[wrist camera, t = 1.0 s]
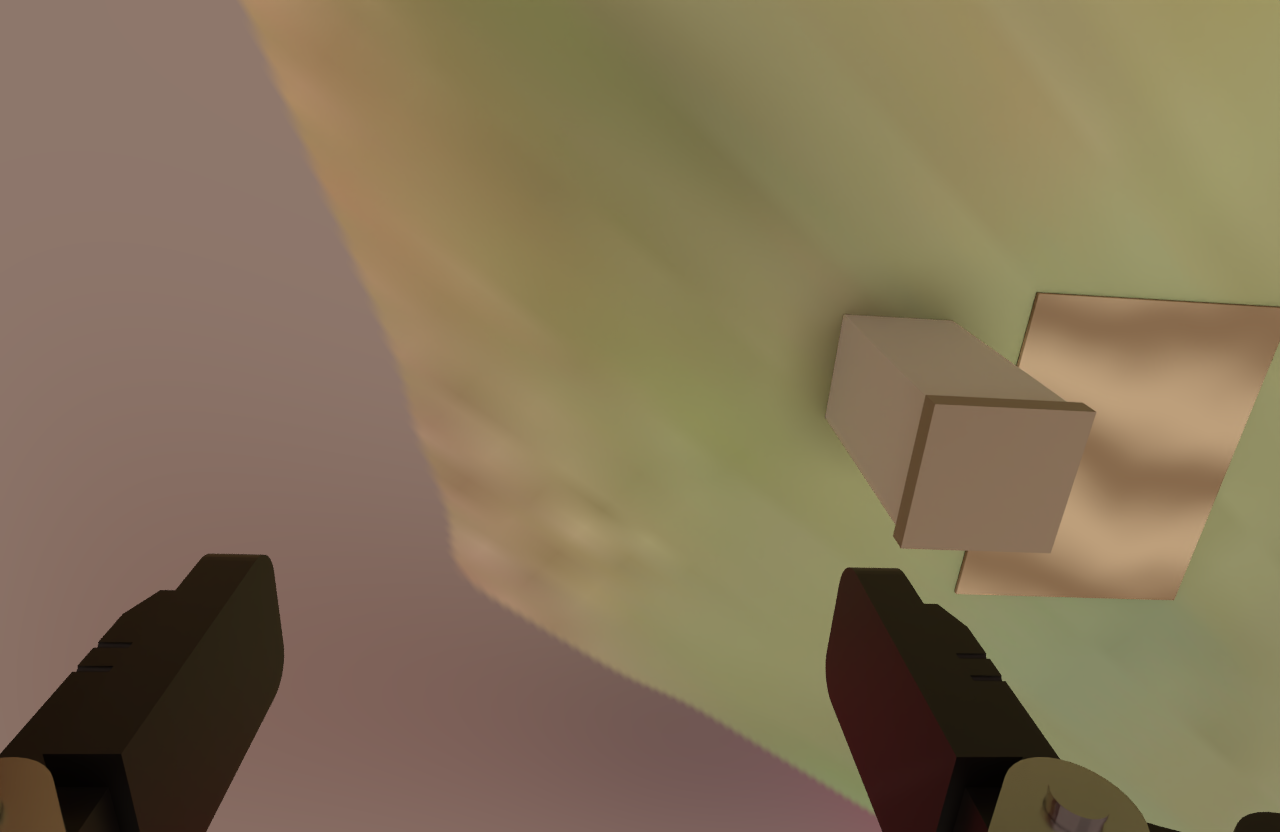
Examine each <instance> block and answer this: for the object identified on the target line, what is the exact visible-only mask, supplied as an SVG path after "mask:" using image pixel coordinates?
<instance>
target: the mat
mask: <svg viewBox="0 0 1280 832" xmlns="http://www.w3.org/2000/svg"><path fill="white" fill-rule="evenodd" d="M1279 342H1280V307H1271V306H1254V305H1238V304H1221V303H1204V302H1187V301H1171V300H1154V299H1137V298H1120V297H1104V296H1087V295H1070V294H1053V293H1037V294H1036V298H1035V301H1034V305H1033V308H1032V312H1031V316H1030V319H1029V323H1028V327H1027V330H1026V334H1025V338H1024V341H1023V345H1022V348H1021V352H1020V356H1019V359H1018V363H1017V367H1019V368H1020V369H1021V370H1023V371H1024V372H1026V373H1027V374H1029V375H1030V376H1031V377H1033V378H1034V379H1036V380H1037V381H1038V382H1040V383H1041V384H1043V385H1044V386H1045V387H1047V388H1048V389H1050V390H1051V391H1052V392H1054V393H1055V394H1057V395H1058V396H1059V397H1061V398H1062V399H1064V400H1065V401H1066V402H1082V403H1084V404H1086V405H1087V406H1089V407H1090V408H1091V409H1093V410H1094V411H1096V415H1095V418H1094V421H1093V424H1092V428H1091V431H1090V434H1089V437H1088V440H1087V443H1086V446H1085V449H1084V452H1083V455H1082V458H1081V461H1080V465H1079V468H1078V471H1077V474H1076V477H1075V480H1074V483H1073V486H1072V489H1071V492H1070V495H1069V498H1068V501H1067V505H1066V508H1065V511H1064V514H1063V517H1062V520H1061V523H1060V526H1059V529H1058V532H1057V535H1056V538H1055V542H1054V545H1053V548H1052V551H1051V553H1024V552H994V551H966V552H965V556H964V559H963V563H962V567H961V570H960V574H959V577H958V581H957V585H956V588H955V593H956V594H979V595H1013V596H1048V597H1083V598H1118V599H1152V600H1174V599H1175V596H1176V594H1177V592H1178V589H1179V587H1180V584H1181V582H1182V579H1183V577H1184V574H1185V572H1186V569H1187V567H1188V565H1189V562H1190V560H1191V557H1192V555H1193V552H1194V550H1195V547H1196V545H1197V543H1198V540H1199V538H1200V535H1201V533H1202V530H1203V528H1204V525H1205V523H1206V520H1207V518H1208V516H1209V513H1210V511H1211V508H1212V506H1213V503H1214V501H1215V498H1216V496H1217V493H1218V491H1219V489H1220V486H1221V484H1222V481H1223V479H1224V476H1225V474H1226V471H1227V469H1228V467H1229V464H1230V462H1231V459H1232V457H1233V454H1234V452H1235V449H1236V447H1237V444H1238V442H1239V440H1240V437H1241V435H1242V432H1243V430H1244V427H1245V425H1246V422H1247V420H1248V417H1249V415H1250V413H1251V410H1252V408H1253V405H1254V403H1255V400H1256V398H1257V395H1258V393H1259V391H1260V388H1261V386H1262V383H1263V381H1264V378H1265V376H1266V373H1267V371H1268V368H1269V366H1270V364H1271V361H1272V359H1273V356H1274V354H1275V351H1276V349H1277V346H1278V344H1279Z"/></svg>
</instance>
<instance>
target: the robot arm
mask: <svg viewBox="0 0 1280 832" xmlns="http://www.w3.org/2000/svg"><path fill="white" fill-rule="evenodd" d="M98 643H99V644H98V647H97V648H93V649H92V650H91V651H90V652H89V653H88V655H87V656H86V657H85V658H84V659H83V660H82V661H81V662H80V664H79V665H78V669H77V672H72V673H71V674H70V675H69V676H68V677H67V678H66V680H65V681H64V682H63V683H62V684H61V685H60V686H59V688H58V689H57V690H56V691H55V692H54V693H53V694H52V696H51V697H50V698H49V699H48V700H47V701H46V702H45V703H44V705H43V706H42V707H41V708H40V709H39V710H38V712H37V713H36V714H35V715H34V716H33V717H32V718H31V719H30V721H29V722H28V723H27V724H26V725H25V726H24V727H23V729H22V730H21V731H20V732H19V733H18V734H17V735H16V737H15V738H14V739H13V740H12V741H11V742H10V743H9V745H8V746H7V747H6V748H5V749H4V750H3V751H2V753H1V754H0V832H206V831H207V829H208V827H209V825H210V823H211V821H212V819H213V817H214V815H215V813H216V811H217V809H218V807H219V805H220V803H221V802H222V800H223V798H224V795H225V794H226V792H227V790H228V788H229V786H230V784H231V782H232V780H233V778H234V776H235V774H236V772H237V770H238V768H239V766H240V764H241V762H242V760H243V758H244V756H245V754H246V752H247V750H248V749H249V747H250V745H251V742H252V741H253V739H254V737H255V735H256V733H257V731H258V729H259V727H260V725H261V723H262V721H263V719H264V717H265V715H266V713H267V711H268V709H269V707H270V705H271V703H272V701H273V699H274V697H275V695H276V693H277V690H278V688H279V685H280V681H281V677H282V671H283V664H284V645H283V637H282V629H281V622H280V614H279V606H278V599H277V591H276V583H275V576H274V570H273V565H272V562H271V560H270V558H269V557H268V556H266V555H250V554H248V555H247V554H207V555H205V556H203V557H202V558H201V559H200V561H199V562H198V563H197V564H196V566H195V567H194V568H193V569H192V570H191V572H190V573H189V574H188V575H187V577H186V578H185V579H184V580H183V582H182V583H181V584H180V585H179V587H178V588H177V589H176V590H160V591H158V592H157V593H155V594H154V595H152V596H151V597H149V598H147V599H146V600H144V601H143V602H141V603H140V604H138V605H136V606H135V607H133V608H132V609H130V610H129V611H127V612H125V613H124V614H122V616H121V617H120V618H119V619H118V620H117V621H116V622H115V624H114V625H113V626H112V627H111V628H110V629H109V631H108V632H107V633H106V634H105V635H104V636H103V638H101V640H100V641H99V642H98ZM826 682H827V688H828V693H829V697H830V700H831V703H832V705H833V708H834V710H835V713H836V716H837V718H838V721H839V723H840V726H841V728H842V731H843V733H844V736H845V738H846V741H847V743H848V746H849V748H850V751H851V753H852V756H853V759H854V761H855V764H856V766H857V769H858V771H859V774H860V776H861V779H862V781H863V784H864V786H865V789H866V791H867V794H868V797H869V799H870V802H871V804H872V807H873V809H874V812H875V814H876V817H877V819H878V822H879V824H880V827H881V829H882V832H1180V831H1176V830H1172V829H1168V828H1164V827H1160V826H1157V825H1153V824H1150V823H1147V822H1146V821H1145V819H1144V817H1143V815H1142V813H1141V812H1140V811H1139V809H1138V808H1137V806H1136V805H1135V804H1134V803H1133V802H1132V801H1131V800H1130V799H1129V797H1128V796H1127V795H1125V794H1124V793H1123V792H1122V791H1121V790H1120V789H1119V788H1118V787H1116V786H1115V785H1113V784H1112V783H1111V782H1109V781H1108V780H1107V779H1105V778H1103V777H1102V776H1100V775H1098V774H1097V773H1095V772H1093V771H1091V770H1089V769H1087V768H1085V767H1082V766H1080V765H1077V764H1074V763H1072V762H1068V761H1064V760H1061V759H1060V758H1059V757H1058V756H1057V754H1056V753H1055V751H1054V750H1053V748H1052V747H1051V746H1050V744H1049V743H1048V741H1047V740H1046V738H1045V737H1044V736H1043V734H1042V733H1041V731H1040V730H1039V728H1038V727H1037V726H1036V724H1035V723H1034V721H1033V720H1032V718H1031V717H1030V716H1029V714H1028V713H1027V711H1026V710H1025V708H1024V707H1023V706H1022V704H1021V703H1020V701H1019V700H1018V698H1017V697H1016V696H1015V694H1014V693H1013V691H1012V690H1011V688H1010V687H1009V686H1008V684H1007V683H1006V681H1002V679H1001V674H1000V673H999V671H998V670H997V668H996V667H995V666H994V664H993V663H992V661H991V660H990V659H986V653H985V651H984V650H983V648H982V647H981V646H980V644H979V643H978V641H977V640H976V638H975V637H974V636H973V634H972V633H971V631H970V630H969V629H968V627H967V626H965V625H964V624H963V623H962V622H960V621H959V620H958V619H956V618H955V617H954V616H952V615H951V614H950V613H948V612H947V611H946V610H945V609H943V608H942V607H941V606H939V605H938V604H924V603H923V602H922V600H921V599H920V597H919V596H918V594H917V593H916V591H915V589H914V588H913V586H912V585H911V583H910V582H909V580H908V579H907V577H906V576H905V574H904V573H903V572H902V571H901V570H900V569H898V568H846V569H845V570H844V571H843V573H842V576H841V579H840V583H839V589H838V594H837V599H836V605H835V610H834V616H833V621H832V627H831V632H830V637H829V643H828V648H827V654H826ZM1233 832H1280V813H1272V812H1257V813H1253V814H1249V815H1247V816H1245V817H1243V818H1242V819H1241V820H1240V821H1239V822H1238V823H1237V825H1236V827H1235V829H1234V831H1233Z"/></svg>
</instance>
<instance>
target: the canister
mask: <svg viewBox="0 0 1280 832" xmlns="http://www.w3.org/2000/svg"><path fill="white" fill-rule="evenodd" d="M1095 415H1096V411H1094V410H1093V409H1091V408H1090V407H1089V406H1087V405H1086V404H1084V403H1082V402H1066V401H1065V400H1064V399H1062V398H1061V397H1059V396H1058V395H1057V394H1055V393H1054V392H1052V391H1051V390H1050V389H1048V388H1047V387H1045V386H1044V385H1043V384H1041V383H1040V382H1038V381H1037V380H1036V379H1034V378H1033V377H1031V376H1030V375H1029V374H1027V373H1026V372H1024V371H1023V370H1021V369H1020V368H1019V367H1017V366H1016V365H1014V364H1013V363H1012V362H1010V361H1009V360H1007V359H1006V358H1005V357H1003V356H1002V355H1000V354H999V353H998V352H996V351H995V350H993V349H992V348H991V347H989V346H988V345H986V344H985V343H984V342H982V341H981V340H979V339H978V338H976V337H975V336H974V335H972V334H971V333H969V332H968V331H967V330H965V329H964V328H962V327H961V326H960V325H958V324H957V323H955V322H954V321H952V320H934V319H917V318H899V317H881V316H864V315H846V314H844V315H843V321H842V326H841V332H840V337H839V343H838V349H837V354H836V360H835V365H834V371H833V376H832V382H831V388H830V393H829V399H828V404H827V410H826V416H825V418H826V420H827V421H828V423H829V424H830V426H831V427H832V429H833V430H834V432H835V433H836V435H837V436H838V438H839V440H840V441H841V443H842V444H843V446H844V447H845V449H846V450H847V452H848V453H849V455H850V456H851V458H852V459H853V461H854V462H855V464H856V465H857V467H858V468H859V470H860V472H861V473H862V475H863V476H864V478H865V479H866V481H867V482H868V484H869V485H870V487H871V488H872V490H873V491H874V493H875V494H876V496H877V497H878V499H879V500H880V502H881V503H882V505H883V507H884V508H885V510H886V511H887V513H888V514H889V516H890V517H891V519H892V520H893V522H894V523H895V525H896V526H895V530H894V534H893V537H894V538H895V540H896V541H897V543H898V544H899V546H900V548H906V549H935V550H965V551H994V552H1024V553H1051V551H1052V548H1053V545H1054V542H1055V538H1056V535H1057V532H1058V529H1059V526H1060V523H1061V520H1062V517H1063V514H1064V511H1065V508H1066V505H1067V501H1068V498H1069V495H1070V492H1071V489H1072V486H1073V483H1074V480H1075V477H1076V474H1077V471H1078V468H1079V465H1080V461H1081V458H1082V455H1083V452H1084V449H1085V446H1086V443H1087V440H1088V437H1089V434H1090V431H1091V428H1092V424H1093V421H1094V418H1095Z"/></svg>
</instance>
